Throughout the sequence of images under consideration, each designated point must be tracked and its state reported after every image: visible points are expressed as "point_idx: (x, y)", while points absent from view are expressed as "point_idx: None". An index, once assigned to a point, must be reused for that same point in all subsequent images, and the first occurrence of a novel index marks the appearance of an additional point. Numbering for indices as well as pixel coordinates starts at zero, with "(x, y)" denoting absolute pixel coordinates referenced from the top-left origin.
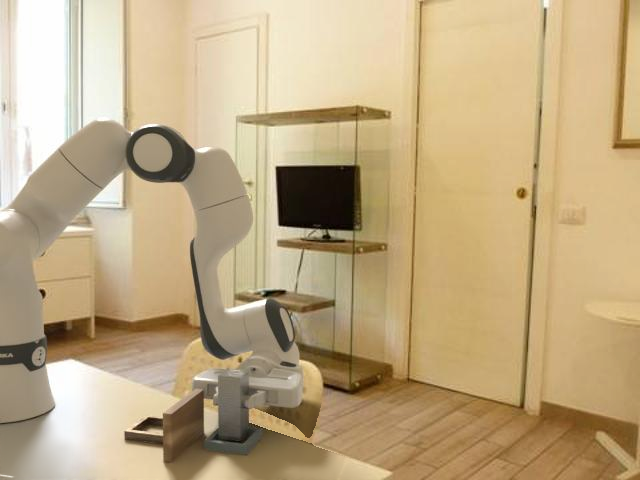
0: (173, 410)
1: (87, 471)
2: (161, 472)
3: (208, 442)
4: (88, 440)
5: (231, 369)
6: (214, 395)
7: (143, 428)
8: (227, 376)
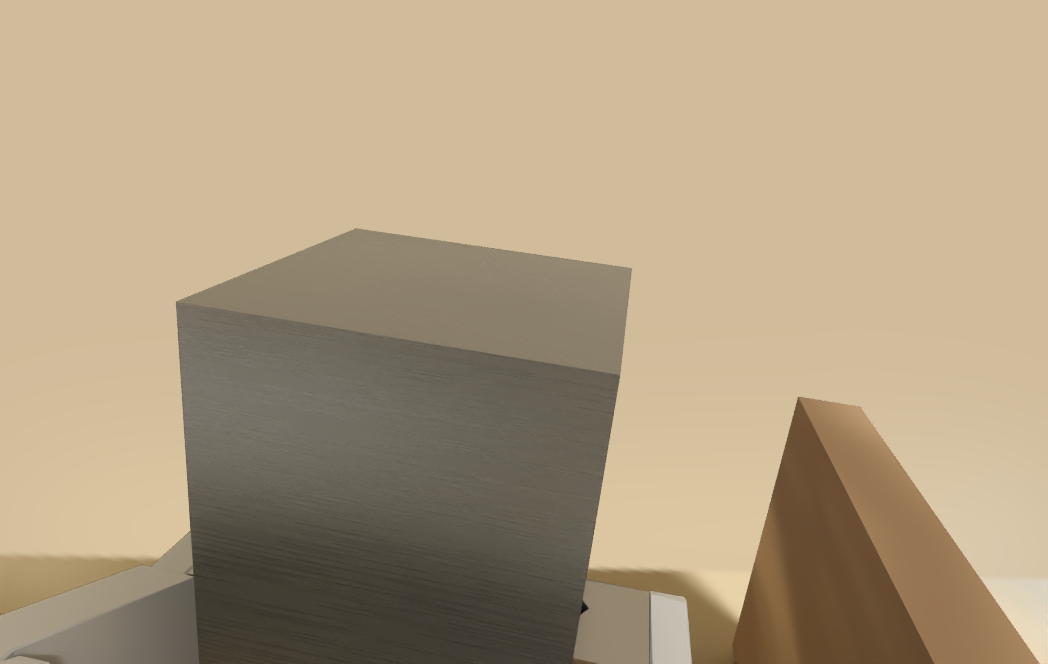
0: (828, 423)
1: (1040, 597)
2: (726, 584)
3: None
4: None
5: (518, 343)
6: (677, 599)
7: None
8: (510, 252)
